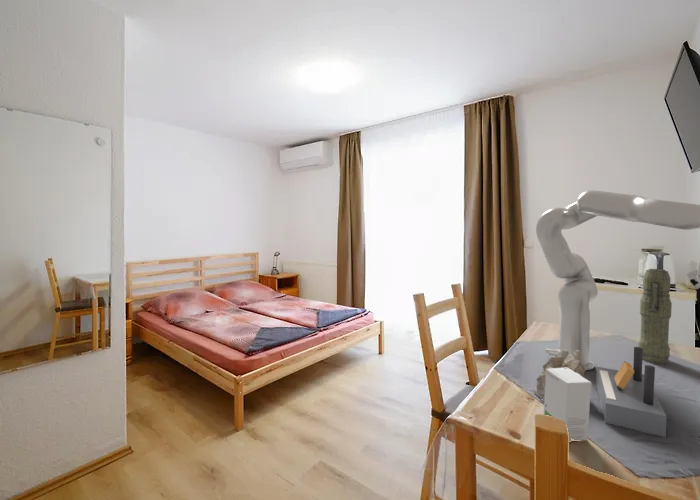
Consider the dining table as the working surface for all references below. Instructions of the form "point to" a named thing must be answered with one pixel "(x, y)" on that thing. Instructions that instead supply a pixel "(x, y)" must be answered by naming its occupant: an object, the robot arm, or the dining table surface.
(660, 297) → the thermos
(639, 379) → the dark grey cylinder
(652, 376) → the dark gray rod
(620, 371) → the wooden plank tile
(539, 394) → the beige rock sculpture
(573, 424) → the skincare box
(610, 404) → the strip
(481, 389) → the dining table surface
